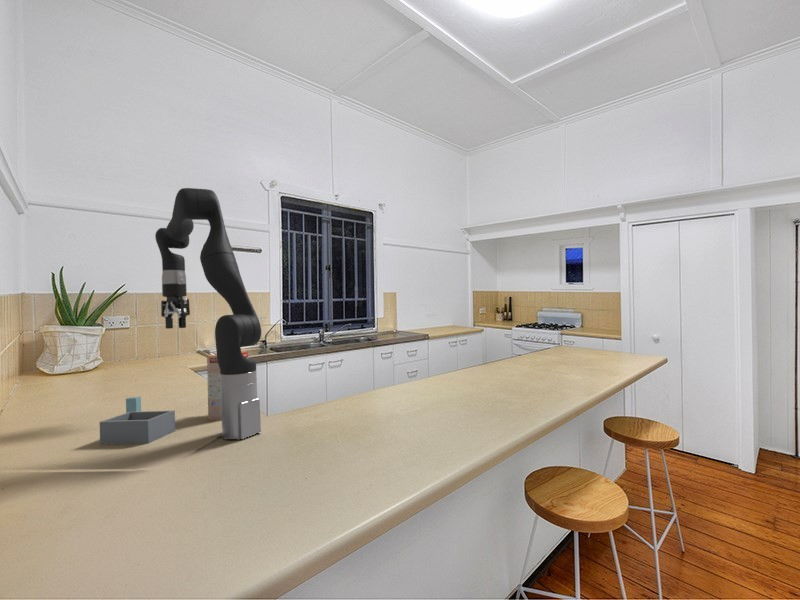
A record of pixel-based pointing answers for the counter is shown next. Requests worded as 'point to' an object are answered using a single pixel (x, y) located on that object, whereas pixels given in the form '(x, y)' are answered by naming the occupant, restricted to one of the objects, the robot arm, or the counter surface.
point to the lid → (133, 404)
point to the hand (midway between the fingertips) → (175, 328)
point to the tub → (137, 427)
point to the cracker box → (215, 387)
